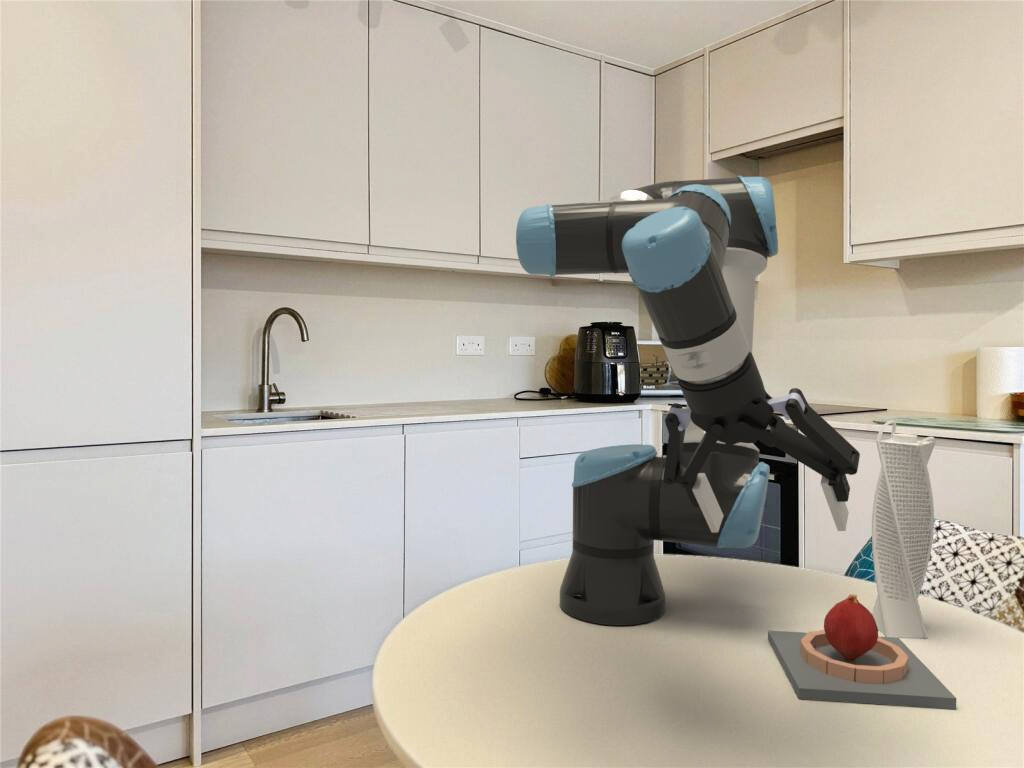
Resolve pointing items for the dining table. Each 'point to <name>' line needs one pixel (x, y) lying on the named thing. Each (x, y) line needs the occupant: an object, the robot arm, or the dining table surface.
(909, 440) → the skyscraper
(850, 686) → the dock
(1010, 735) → the dining table surface
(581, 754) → the dining table surface
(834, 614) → the red rounded fruit
